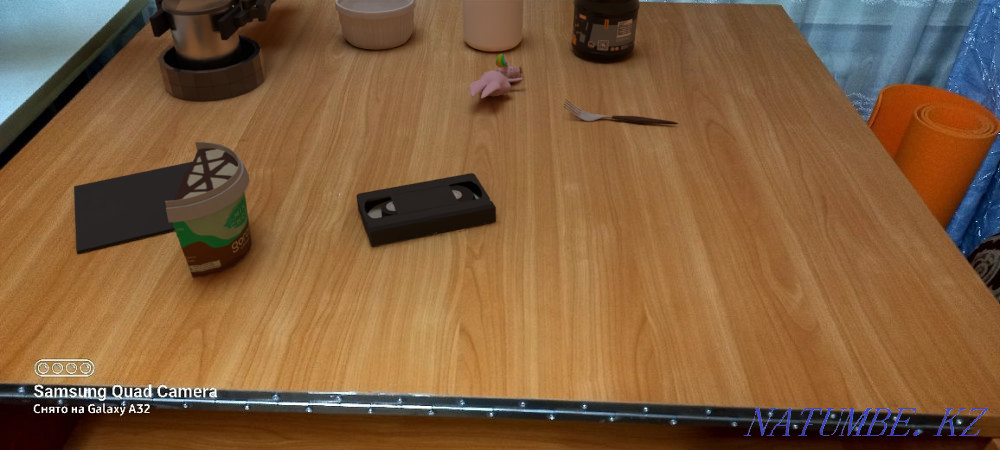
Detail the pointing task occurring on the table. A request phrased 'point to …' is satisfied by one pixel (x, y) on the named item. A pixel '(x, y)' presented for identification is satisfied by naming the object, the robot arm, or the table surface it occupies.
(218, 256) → the food container
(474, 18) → the cup
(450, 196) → the vhs tape
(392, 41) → the ramekin
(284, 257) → the table surface
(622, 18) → the supplement container
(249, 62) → the shallow dark brown bowl
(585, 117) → the fork
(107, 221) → the mat
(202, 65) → the small pot
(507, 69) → the rabbit figure
